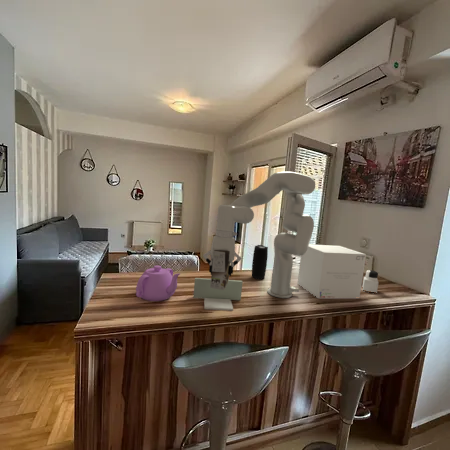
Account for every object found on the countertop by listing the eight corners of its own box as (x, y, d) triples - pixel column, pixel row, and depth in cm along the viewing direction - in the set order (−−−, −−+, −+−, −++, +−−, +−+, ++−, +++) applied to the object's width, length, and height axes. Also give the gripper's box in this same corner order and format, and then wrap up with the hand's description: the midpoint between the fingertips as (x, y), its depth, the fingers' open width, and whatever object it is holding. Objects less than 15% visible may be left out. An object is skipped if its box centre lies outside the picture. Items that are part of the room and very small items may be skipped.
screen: (240, 299, 124) (242, 280, 123) (240, 300, 123) (242, 281, 122) (193, 296, 122) (194, 277, 121) (193, 297, 121) (194, 278, 120)
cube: (317, 299, 135) (324, 252, 132) (297, 284, 156) (302, 243, 153) (359, 299, 141) (366, 254, 138) (334, 285, 161) (339, 245, 159)
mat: (230, 301, 121) (230, 299, 121) (232, 310, 111) (233, 308, 111) (204, 299, 120) (204, 297, 120) (204, 309, 110) (204, 307, 110)
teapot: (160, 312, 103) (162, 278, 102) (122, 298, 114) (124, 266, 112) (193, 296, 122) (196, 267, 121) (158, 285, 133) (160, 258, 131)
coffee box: (224, 290, 109) (228, 252, 108) (209, 288, 111) (213, 250, 109) (228, 283, 118) (232, 248, 117) (214, 281, 120) (218, 246, 118)
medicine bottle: (375, 290, 157) (378, 270, 155) (376, 294, 150) (380, 273, 149) (362, 287, 160) (365, 268, 158) (362, 291, 153) (365, 271, 152)
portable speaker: (251, 279, 156) (255, 246, 154) (250, 274, 165) (253, 244, 163) (266, 280, 156) (269, 248, 154) (264, 275, 165) (267, 245, 163)
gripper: (243, 234, 117) (239, 273, 119) (204, 231, 115) (200, 270, 117) (246, 237, 109) (241, 278, 111) (204, 233, 108) (200, 275, 109)
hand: (220, 274), depth 114 cm, fingers closed on coffee box, 7 cm apart
